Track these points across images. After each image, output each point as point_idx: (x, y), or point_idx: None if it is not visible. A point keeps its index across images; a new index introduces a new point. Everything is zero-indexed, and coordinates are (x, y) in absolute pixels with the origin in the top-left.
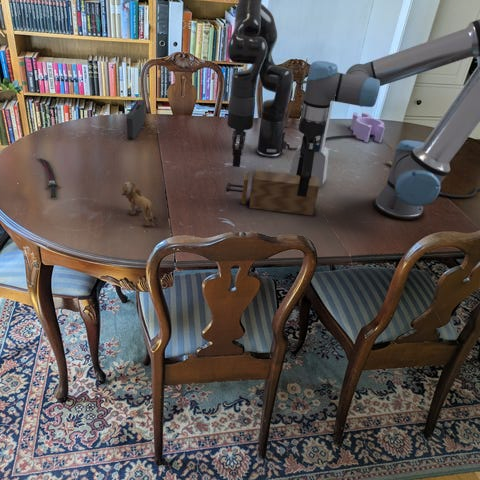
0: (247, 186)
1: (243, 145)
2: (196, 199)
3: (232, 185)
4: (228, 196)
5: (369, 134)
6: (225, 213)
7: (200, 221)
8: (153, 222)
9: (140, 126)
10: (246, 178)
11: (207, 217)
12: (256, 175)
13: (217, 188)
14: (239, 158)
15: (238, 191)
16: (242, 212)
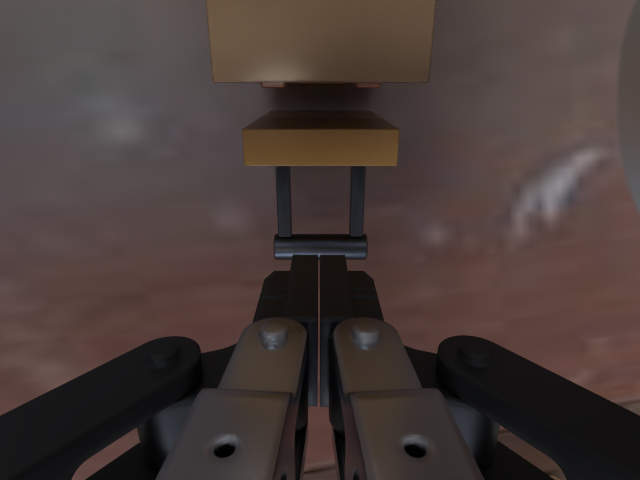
0: (274, 117)
1: (471, 464)
2: None
3: (290, 224)
4: (269, 214)
5: None
6: (465, 210)
7: (554, 312)
8: None
9: None
10: (374, 144)
11: (514, 288)
12: (343, 43)
13: (194, 279)
14: (352, 312)
15: (363, 176)
16: (441, 119)
